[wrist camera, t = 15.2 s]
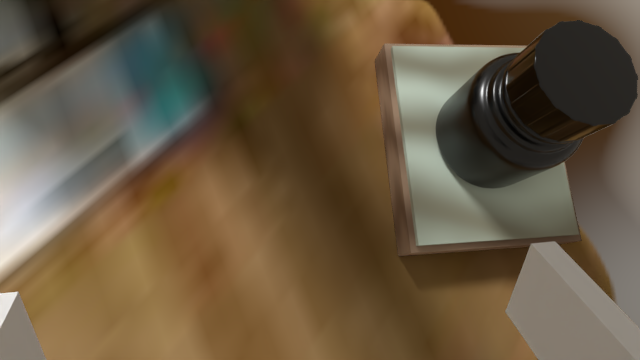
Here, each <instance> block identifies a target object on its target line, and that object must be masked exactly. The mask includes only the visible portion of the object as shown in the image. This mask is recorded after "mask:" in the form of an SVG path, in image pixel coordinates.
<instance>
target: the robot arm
mask: <svg viewBox="0 0 640 360" xmlns="http://www.w3.org/2000/svg"><path fill="white" fill-rule="evenodd" d="M505 312H506V313H507V315H508V316H509V318H510V319H511V321H512V322H513V323H514V325H515V326H516V328H517V329H518V331H519V332H520V334H521V335H522V336H523V338H524V339H525V341H526V342H527V344H528V345H529V347H530V348H531V349H532V351H533V352H534V354H535V355H536V357H537V358H538V360H640V328H639V327H638V326H637V325H636V324H635V323H634V322H633V321H632V320H631V319H630V318H629V317H628V316H627V315H626V314H625V313H624V312H623V311H622V310H621V309H620V308H619V307H618V306H617V305H616V303H615V302H614V301H613V300H612V299H611V298H610V297H609V296H608V295H607V294H606V293H605V292H604V291H603V290H602V289H601V288H600V287H599V286H598V285H597V284H596V283H595V282H594V281H593V280H592V279H591V278H590V277H589V276H588V275H587V274H586V273H585V272H584V271H583V270H582V269H581V268H580V266H579V265H578V264H577V263H576V262H575V261H574V260H573V259H572V258H571V257H570V256H569V255H568V254H567V253H566V252H565V251H564V250H563V249H562V248H561V247H560V246H559V245H558V244H557V243H556V242H555V241H553V242H542V243H532V244H531V245H530V248H529V250H528V253H527V256H526V258H525V261H524V264H523V266H522V269H521V272H520V274H519V277H518V280H517V282H516V285H515V287H514V290H513V293H512V295H511V298H510V301H509V303H508V306H507V309H506V311H505ZM0 360H46V358H45V355H44V353H43V351H42V348H41V346H40V343H39V341H38V338H37V336H36V334H35V331H34V329H33V326H32V324H31V321H30V319H29V317H28V314H27V312H26V309H25V307H24V304H23V302H22V300H21V297H20V295H19V292H11V293H0Z"/></svg>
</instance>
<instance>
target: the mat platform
mask: <svg viewBox="0 0 640 360" xmlns="http://www.w3.org/2000/svg"><path fill="white" fill-rule="evenodd" d="M526 47H527V46H502V45H436V44H384V45H383V47H382V49H381V51H380V52H379V54H378V56H377V58H376V59H375V67H376V76H377V84H378V92H379V101H380V109H381V117H382V126H383V134H384V142H385V151H386V159H387V167H388V175H389V184H390V192H391V200H392V209H393V217H394V225H395V234H396V242H397V250H398V256H409V255H422V254H436V253H450V252H463V251H477V250H491V249H505V248H518V247H530V245H531V244H532V243H542V242H553V241H555V242H556V243H557V244H565V243H571V242H577V241H582V240H581V236H580V231H579V226H578V222H577V217H576V213H575V208H574V203H573V198H572V194H571V189H570V185H569V180H568V175H567V171H566V166H565V161H564V162H563V163H561V164H560V165H558V166H556V167H553V168H551V169H549V170H546V171H544V172H541V173H539V174H537V175H534V176H532V177H529V178H527V179H524V180H522V181H520V182H517V183H515V184H512V185H510V186H506V187H502V188H495V189H489V188H481V187H477V186H474V185H472V184H470V183H468V182H466V181H465V180H463V179H462V178H460V177H459V176H458V175H457V174H456V173H455V172H454V171H453V170H452V169H451V168H450V167H449V165H448V164H447V163H446V161H445V159H444V158H443V156H442V154H441V152H440V149H439V146H438V143H437V139H436V120H437V117H438V114H439V112H440V110H441V108H442V106H443V105H444V103H445V102H446V101H447V100H448V99H449V98H450V97H451V96H452V95H453V94H454V93H455V92H456V91H457V90H458V89H459V88H460V87H461V86H463V85H464V84H465V83H466V82H467V81H468V80H469V79H470V78H471V77H472V76H473V75H474V74H475V73H476V72H477V71H478V70H479V69H480V68H482V67H483V66H484V65H485V64H487V63H488V62H489V61H491V60H493V59H495V58H497V57H499V56H502V55H505V54H510V53H520V52H521V51H522V50H523V49H525V48H526Z"/></svg>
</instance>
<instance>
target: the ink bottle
mask: <svg viewBox="0 0 640 360" xmlns="http://www.w3.org/2000/svg"><path fill="white" fill-rule="evenodd" d="M637 80H638V76H637V74H636V72H635V69H634V66H633V63H632V59H631V57H630V55H629V54H628V53H627V52H626V51H625V49H624V48H623V47H622V45H621V44H620V43H619V41H618V40H617V39H616V38H615V37H613V36H611V35H610V34H609V33H607V32H606V31H604V30H603V29H602V28H601V27H599V26H595V25H591V24H589V23H585V22H583V21H580V20H577V21H569V22H563V21H562V22H559V23H557V24H556V25H555V26H553V27H552V28H550V29H547V30H545V31H544V32H543V33H542V34H541V35H540V36H538V37H537V38H536V39H535V40H534V41H533V42H532V43H530V44H529V45H528V46H527V47H526V48H525V49H523V50H522V51H521V52H520V53H510V54H505V55H502V56H499V57H497V58H495V59H493V60H491V61H489V62H488V63H487V64H485V65H484V66H483V67H482V68H480V69H479V70H478V71H477V72H476V73H475V74H474V75H473V76H472V77H471V78H470V79H469V80H468V81H467V82H466V83H465V84H464V85H463V86H461V87H460V88H459V89H458V90H457V91H456V92H455V93H454V94H453V95H452V96H451V97H450V98H449V99H448V100H447V101H446V102H445V103H444V105H443V106H442V108H441V110H440V112H439V114H438V117H437V120H436V139H437V143H438V146H439V149H440V152H441V154H442V156H443V158H444V159H445V161H446V163H447V164H448V165H449V167H450V168H451V169H452V170H453V171H454V172H455V173H456V174H457V175H458V176H459V177H460V178H462V179H463V180H465V181H466V182H468V183H470V184H472V185H474V186H477V187H481V188H489V189H495V188H502V187H506V186H510V185H512V184H515V183H517V182H520V181H522V180H524V179H527V178H529V177H532V176H534V175H537V174H539V173H541V172H544V171H546V170H549V169H551V168H553V167H556V166H558V165H560V164H561V163H563V162H564V161H566V160H567V159H568V158H570V157H571V156H572V155H573V154H574V152H575V151H576V150H577V149H578V147H579V146H580V144H581V142H582V140H583V138H584V137H586V136H588V135H590V134H592V133H595V132H597V131H599V130H601V129H603V128H605V127H607V126H610V125H612V124H614V123H616V121H617V120H619V119H621V118H622V117H623V116H625V115H627V114H629V112H630V109H631V107H632V105H633V103H634V101H635V100H636V99H637Z"/></svg>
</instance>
